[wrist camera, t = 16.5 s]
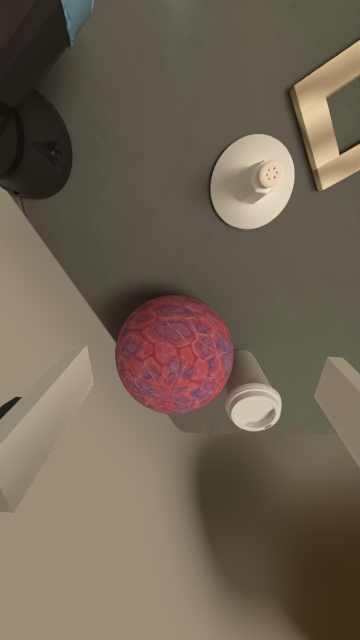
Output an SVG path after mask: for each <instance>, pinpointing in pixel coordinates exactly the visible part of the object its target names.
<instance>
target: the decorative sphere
mask: <svg viewBox="0 0 360 640" xmlns="http://www.w3.org/2000/svg"><path fill="white" fill-rule="evenodd" d="M233 354H234V353H233V343H232V339H231V335H230V333H229V330H228V328H227V326H226V324H225V322H224V321H223V320H222V318H221V317H220V316H219V315H218V313H217V312H216V311H215V310H213V309H212V308H211V307H210V306H209V305H207V304H205V303H204V302H202V301H200V300H198V299H195V298H193V297H189V296H184V295H165V296H160V297H157V298H154V299H151V300H149V301H147V302H145V303H144V304H142V305H141V306H139V307H138V308H137V309H136V310H134V311H133V312H132V314H131V315H130V316H129V317H128V318H127V320H126V321H125V323H124V324H123V326H122V328H121V330H120V333H119V335H118V339H117V343H116V350H115V359H116V366H117V371H118V374H119V377H120V379H121V381H122V383H123V385H124V387H125V388H126V390H127V391H128V392H129V393H130V395H131V396H132V397H133V398H134V399H135V400H137V401H138V402H139V403H141V404H142V405H144V406H145V407H147V408H149V409H151V410H154V411H157V412H160V413H166V414H183V413H188V412H192V411H195V410H197V409H199V408H201V407H203V406H205V405H206V404H208V403H209V402H211V401H212V400H213V399H214V398H215V397H216V396H217V395H218V394H219V393H220V392H221V390H222V389H223V388H224V386H225V384H226V383H227V380H228V378H229V376H230V373H231V370H232V365H233Z"/></svg>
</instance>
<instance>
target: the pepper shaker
mask: <svg viewBox="0 0 360 640" xmlns="http://www.w3.org/2000/svg"><path fill="white" fill-rule="evenodd" d="M283 175H284V168H283V165H282V163H281V162H280V161H278V160H275V159H273V160H269V161H267V160H263V161H261V162H258V163H256V164H254V165H251V166H249V167H248V168H247V169H245V170H244V171H243V172H241V173H240V174H239V175H238V177H237V181H236V185H235V189H234V190H235V192H236V194H237V196H238V198H239V200H240V202H243V203H248V204H254V203H256V202H257V201H259V200H260V199H262V198H263V197H264V196H266V195H267V194H268V193H270V192H271V191H272V190H273V189H275V188H276V187H277V185H278V184H279V183H280V181H281V180H282V178H283Z"/></svg>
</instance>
